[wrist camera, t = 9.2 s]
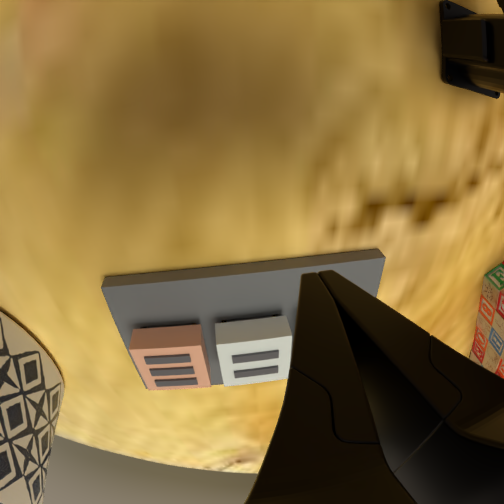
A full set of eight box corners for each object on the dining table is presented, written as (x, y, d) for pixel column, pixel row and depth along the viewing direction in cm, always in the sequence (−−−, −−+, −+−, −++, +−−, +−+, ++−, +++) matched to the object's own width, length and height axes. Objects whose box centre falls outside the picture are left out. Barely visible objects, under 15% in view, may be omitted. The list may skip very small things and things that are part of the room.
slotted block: (200, 311, 22) (200, 347, 19) (209, 355, 25) (211, 389, 22) (135, 316, 22) (128, 351, 19) (152, 358, 25) (148, 392, 22)
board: (378, 248, 22) (385, 257, 21) (353, 353, 28) (357, 362, 27) (105, 277, 20) (100, 287, 19) (147, 378, 27) (146, 388, 26)
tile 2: (282, 303, 23) (292, 337, 20) (280, 347, 25) (289, 380, 22) (214, 311, 22) (216, 347, 19) (221, 354, 25) (224, 388, 22)
